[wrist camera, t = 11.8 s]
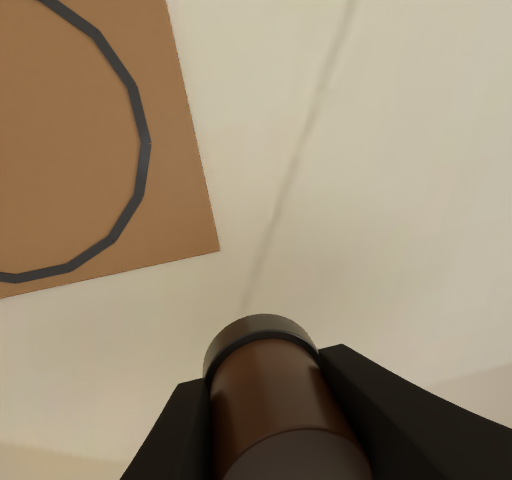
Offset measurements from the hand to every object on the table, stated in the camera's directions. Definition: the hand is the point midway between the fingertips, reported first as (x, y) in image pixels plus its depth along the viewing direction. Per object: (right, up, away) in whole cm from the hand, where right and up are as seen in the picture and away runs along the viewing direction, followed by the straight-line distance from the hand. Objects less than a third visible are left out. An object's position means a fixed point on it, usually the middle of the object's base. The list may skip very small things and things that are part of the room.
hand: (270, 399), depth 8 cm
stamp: (0, 0, +1) cm, 1 cm away
